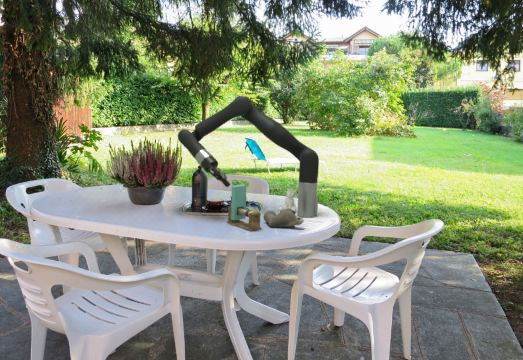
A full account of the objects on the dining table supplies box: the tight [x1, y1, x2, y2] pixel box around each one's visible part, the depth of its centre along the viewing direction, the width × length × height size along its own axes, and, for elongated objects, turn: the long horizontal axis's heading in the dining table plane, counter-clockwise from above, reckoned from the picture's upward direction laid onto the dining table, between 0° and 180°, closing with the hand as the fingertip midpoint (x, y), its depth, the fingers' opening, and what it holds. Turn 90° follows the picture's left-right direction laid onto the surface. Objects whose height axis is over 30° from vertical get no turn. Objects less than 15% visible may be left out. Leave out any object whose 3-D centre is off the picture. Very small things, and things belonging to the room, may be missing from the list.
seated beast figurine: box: [277, 188, 298, 213], centre depth 240 cm, size 10×9×12 cm
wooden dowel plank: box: [226, 205, 262, 233], centre depth 210 cm, size 18×6×8 cm, turn 41°
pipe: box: [263, 208, 305, 228], centre depth 213 cm, size 16×9×15 cm
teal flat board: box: [230, 184, 247, 221], centre depth 212 cm, size 2×6×16 cm, turn 131°
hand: (228, 185), depth 215 cm, fingers closed
